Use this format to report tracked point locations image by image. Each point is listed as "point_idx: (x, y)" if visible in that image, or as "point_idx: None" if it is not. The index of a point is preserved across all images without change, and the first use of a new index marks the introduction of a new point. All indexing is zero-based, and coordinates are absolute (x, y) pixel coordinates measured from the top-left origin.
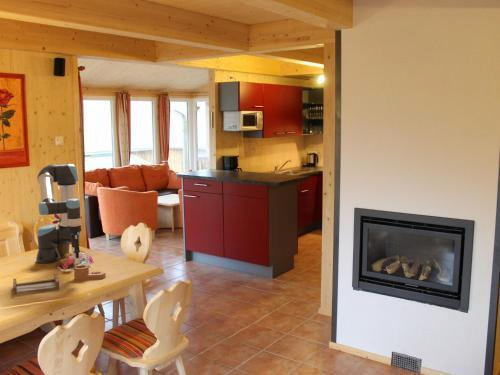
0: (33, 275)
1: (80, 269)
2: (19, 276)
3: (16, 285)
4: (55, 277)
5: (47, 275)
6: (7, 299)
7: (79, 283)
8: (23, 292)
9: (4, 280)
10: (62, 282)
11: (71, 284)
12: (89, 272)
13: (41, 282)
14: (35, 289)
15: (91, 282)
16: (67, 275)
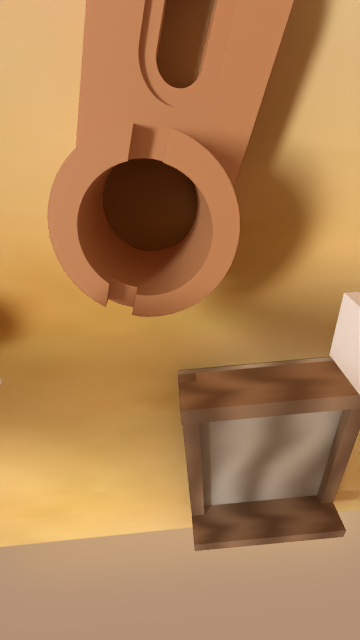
0: (19, 472)
1: (234, 244)
2: (28, 510)
3: (256, 521)
4: (280, 413)
5: (30, 420)
6: (352, 505)
7: (315, 230)
8: (337, 484)
9: (82, 538)
10: (223, 342)
11: (304, 288)
12: (136, 116)
13: (200, 440)
14: (301, 450)
15: (354, 112)
16: (52, 316)
